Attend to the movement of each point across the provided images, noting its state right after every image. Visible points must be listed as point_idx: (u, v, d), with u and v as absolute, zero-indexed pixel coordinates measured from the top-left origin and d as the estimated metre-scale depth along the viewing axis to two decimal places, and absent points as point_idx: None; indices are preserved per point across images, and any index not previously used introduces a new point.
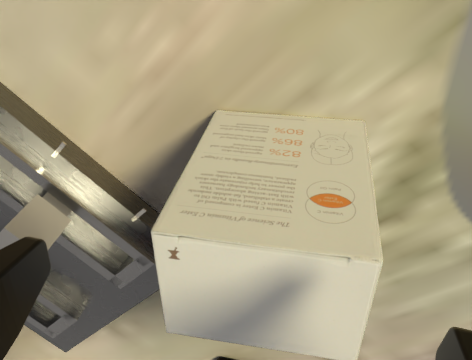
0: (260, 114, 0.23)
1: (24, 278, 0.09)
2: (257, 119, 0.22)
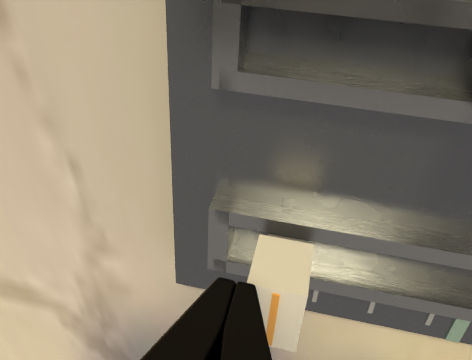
0: None
1: None
2: None
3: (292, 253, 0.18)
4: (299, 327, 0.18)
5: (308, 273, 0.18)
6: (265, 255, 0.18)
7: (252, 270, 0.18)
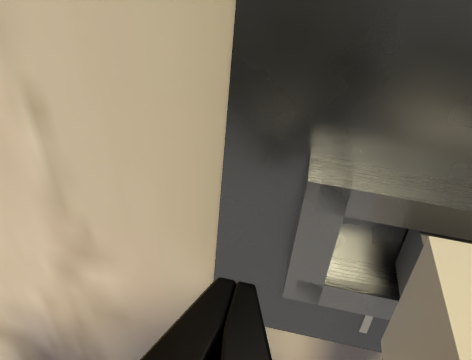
0: None
1: None
2: None
3: None
4: None
5: None
6: (466, 285, 0.08)
7: (456, 325, 0.07)
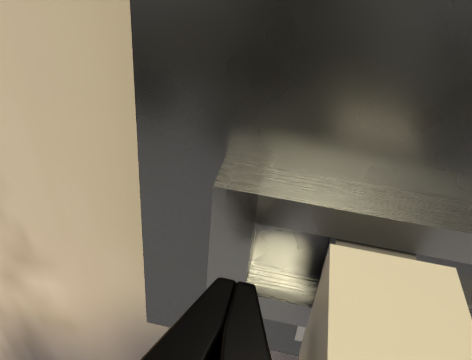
0: None
1: None
2: None
3: (417, 291, 0.08)
4: None
5: None
6: (356, 297, 0.07)
7: (334, 341, 0.07)
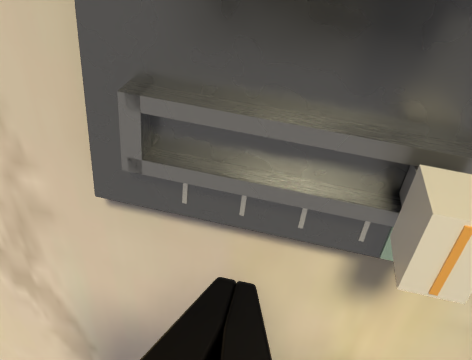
0: None
1: None
2: None
3: (468, 185, 0.15)
4: None
5: None
6: (438, 185, 0.15)
7: (432, 200, 0.14)
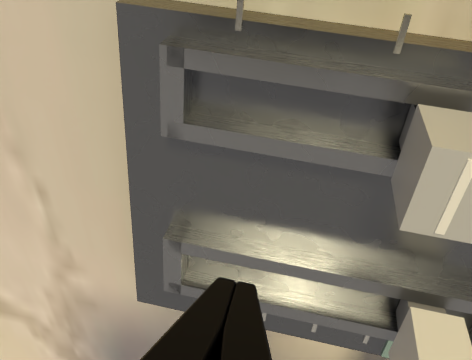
0: None
1: None
2: None
3: (448, 328, 0.19)
4: None
5: (471, 351, 0.18)
6: (424, 331, 0.19)
7: (419, 348, 0.18)
